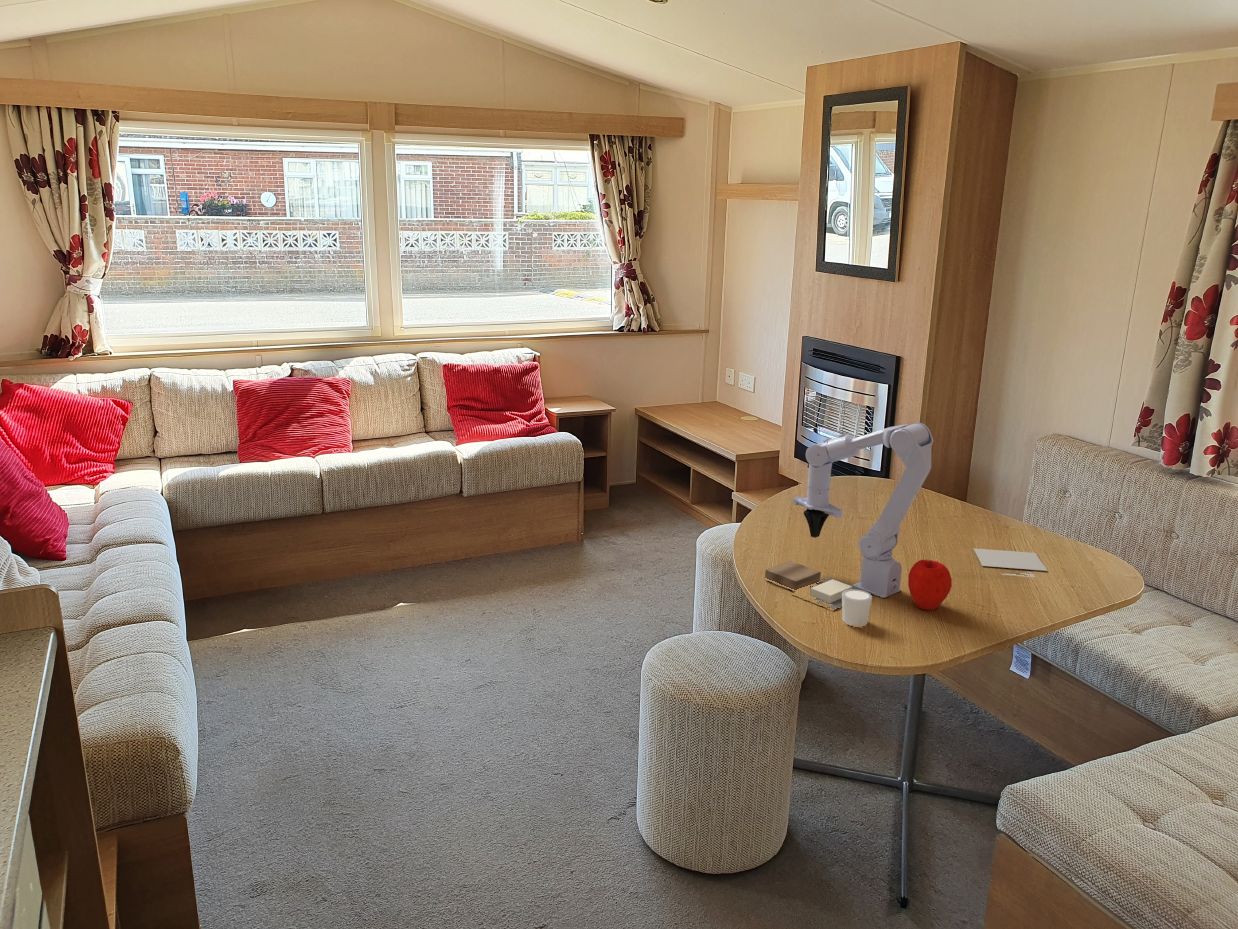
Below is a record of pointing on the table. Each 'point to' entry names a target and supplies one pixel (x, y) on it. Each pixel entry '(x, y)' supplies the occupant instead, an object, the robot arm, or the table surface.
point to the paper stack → (1010, 560)
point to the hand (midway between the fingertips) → (814, 536)
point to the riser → (793, 575)
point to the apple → (929, 583)
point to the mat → (839, 602)
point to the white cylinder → (856, 607)
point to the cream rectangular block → (829, 590)
